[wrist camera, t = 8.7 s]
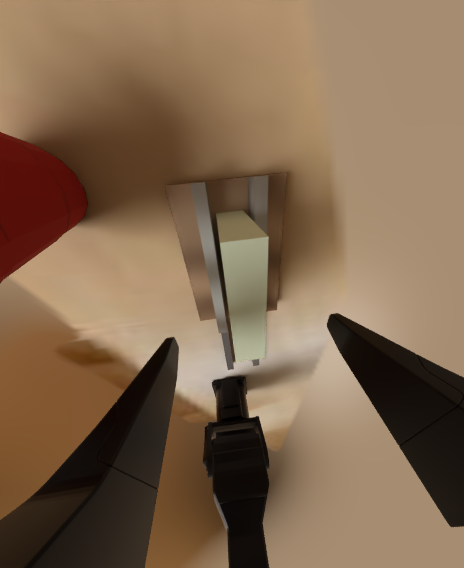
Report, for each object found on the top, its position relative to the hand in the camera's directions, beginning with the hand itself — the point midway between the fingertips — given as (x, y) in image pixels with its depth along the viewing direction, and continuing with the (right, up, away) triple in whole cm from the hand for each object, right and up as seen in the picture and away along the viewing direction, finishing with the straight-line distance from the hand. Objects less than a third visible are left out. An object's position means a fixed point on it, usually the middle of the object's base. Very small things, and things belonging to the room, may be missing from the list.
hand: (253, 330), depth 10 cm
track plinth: (-1, +6, +9) cm, 11 cm away
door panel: (-1, +5, +8) cm, 9 cm away
